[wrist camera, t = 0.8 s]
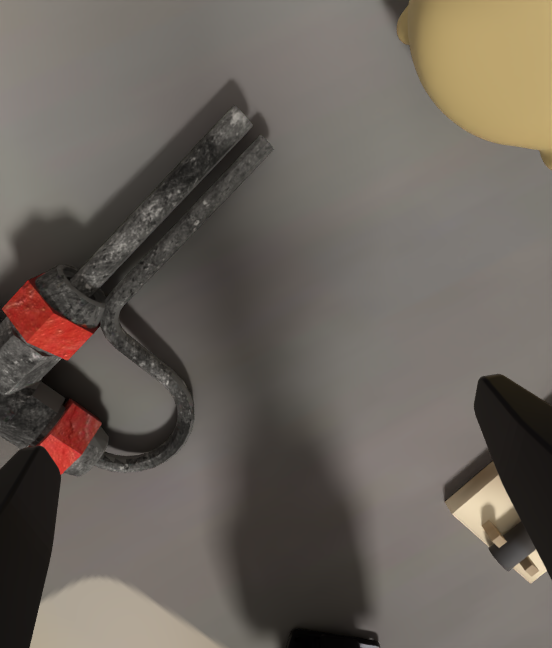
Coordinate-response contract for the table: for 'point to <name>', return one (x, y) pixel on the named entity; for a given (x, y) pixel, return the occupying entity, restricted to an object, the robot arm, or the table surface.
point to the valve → (108, 315)
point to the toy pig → (486, 66)
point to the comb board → (496, 523)
